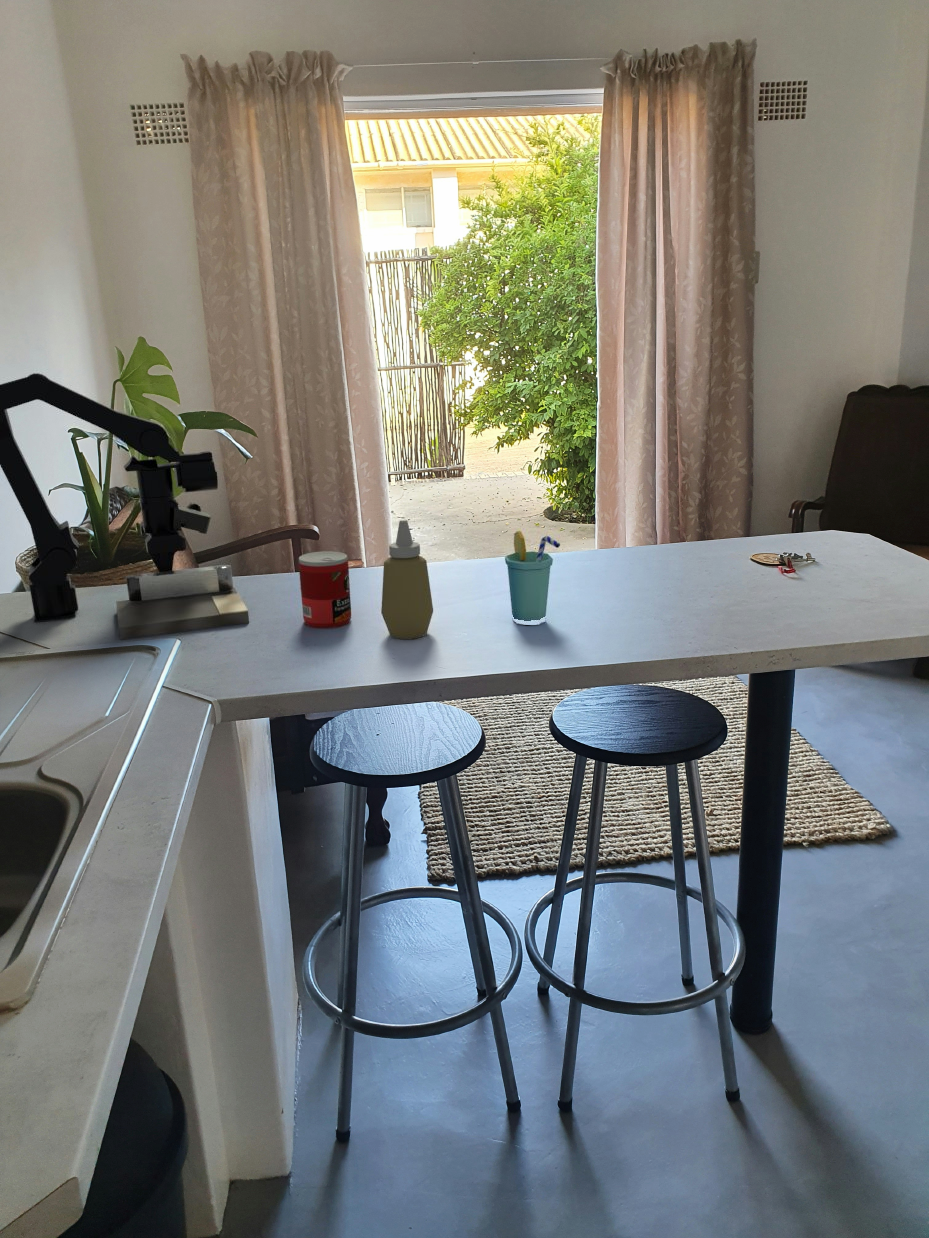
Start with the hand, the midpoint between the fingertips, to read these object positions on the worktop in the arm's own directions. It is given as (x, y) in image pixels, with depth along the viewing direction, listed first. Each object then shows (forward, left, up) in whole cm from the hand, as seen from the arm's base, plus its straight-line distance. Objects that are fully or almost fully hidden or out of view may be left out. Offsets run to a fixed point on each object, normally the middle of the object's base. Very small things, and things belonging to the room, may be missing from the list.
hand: (167, 581), depth 160 cm
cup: (+53, -40, -4) cm, 66 cm away
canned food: (+23, -25, -4) cm, 34 cm away
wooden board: (+1, -12, -4) cm, 12 cm away
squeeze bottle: (+33, -37, -4) cm, 50 cm away
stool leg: (+2, -6, -1) cm, 6 cm away
